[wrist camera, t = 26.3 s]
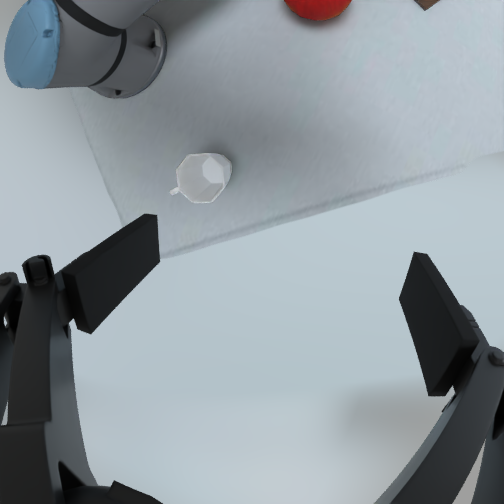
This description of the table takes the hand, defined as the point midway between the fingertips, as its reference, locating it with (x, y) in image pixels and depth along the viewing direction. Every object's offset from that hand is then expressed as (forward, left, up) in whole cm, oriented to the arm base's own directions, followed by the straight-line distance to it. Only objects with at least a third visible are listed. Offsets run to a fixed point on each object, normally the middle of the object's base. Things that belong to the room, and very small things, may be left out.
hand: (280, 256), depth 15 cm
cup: (-9, -11, -31) cm, 34 cm away
